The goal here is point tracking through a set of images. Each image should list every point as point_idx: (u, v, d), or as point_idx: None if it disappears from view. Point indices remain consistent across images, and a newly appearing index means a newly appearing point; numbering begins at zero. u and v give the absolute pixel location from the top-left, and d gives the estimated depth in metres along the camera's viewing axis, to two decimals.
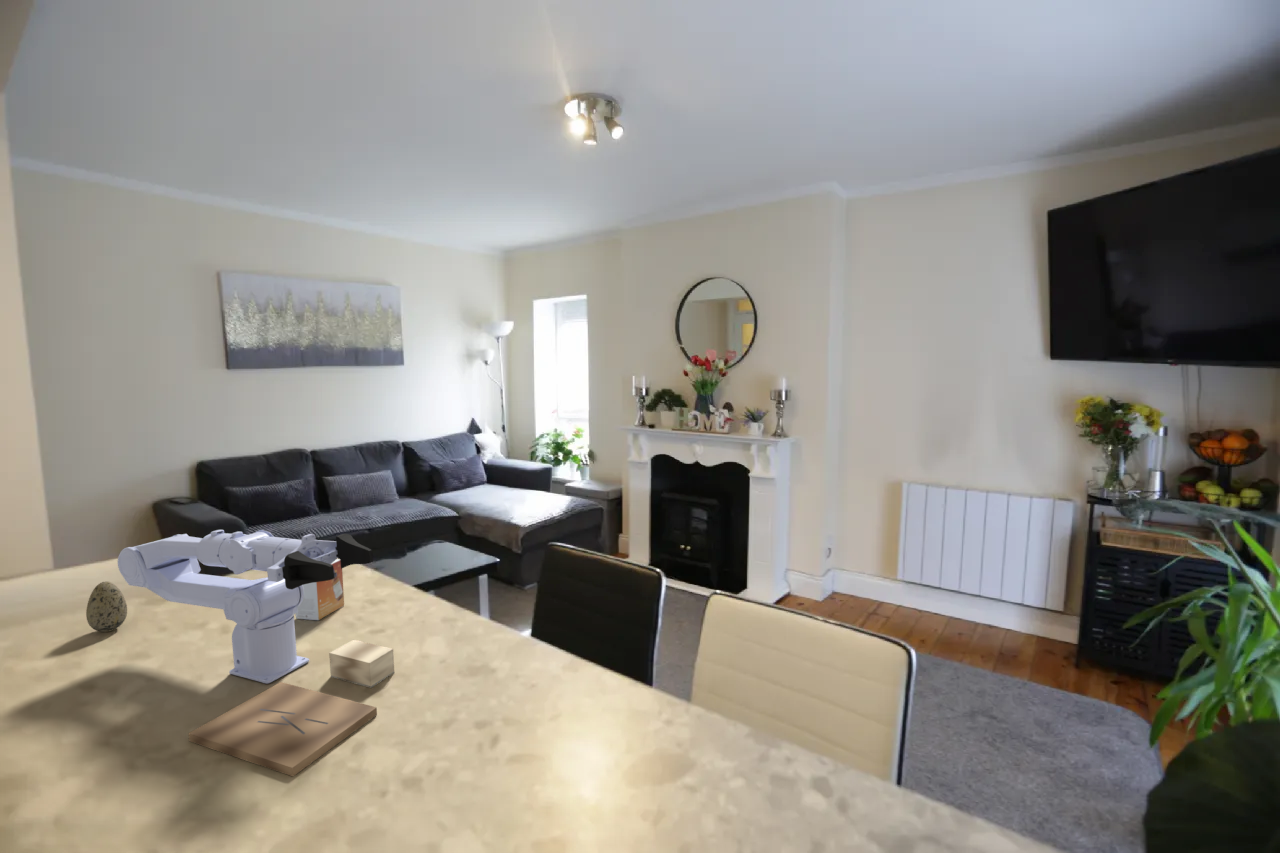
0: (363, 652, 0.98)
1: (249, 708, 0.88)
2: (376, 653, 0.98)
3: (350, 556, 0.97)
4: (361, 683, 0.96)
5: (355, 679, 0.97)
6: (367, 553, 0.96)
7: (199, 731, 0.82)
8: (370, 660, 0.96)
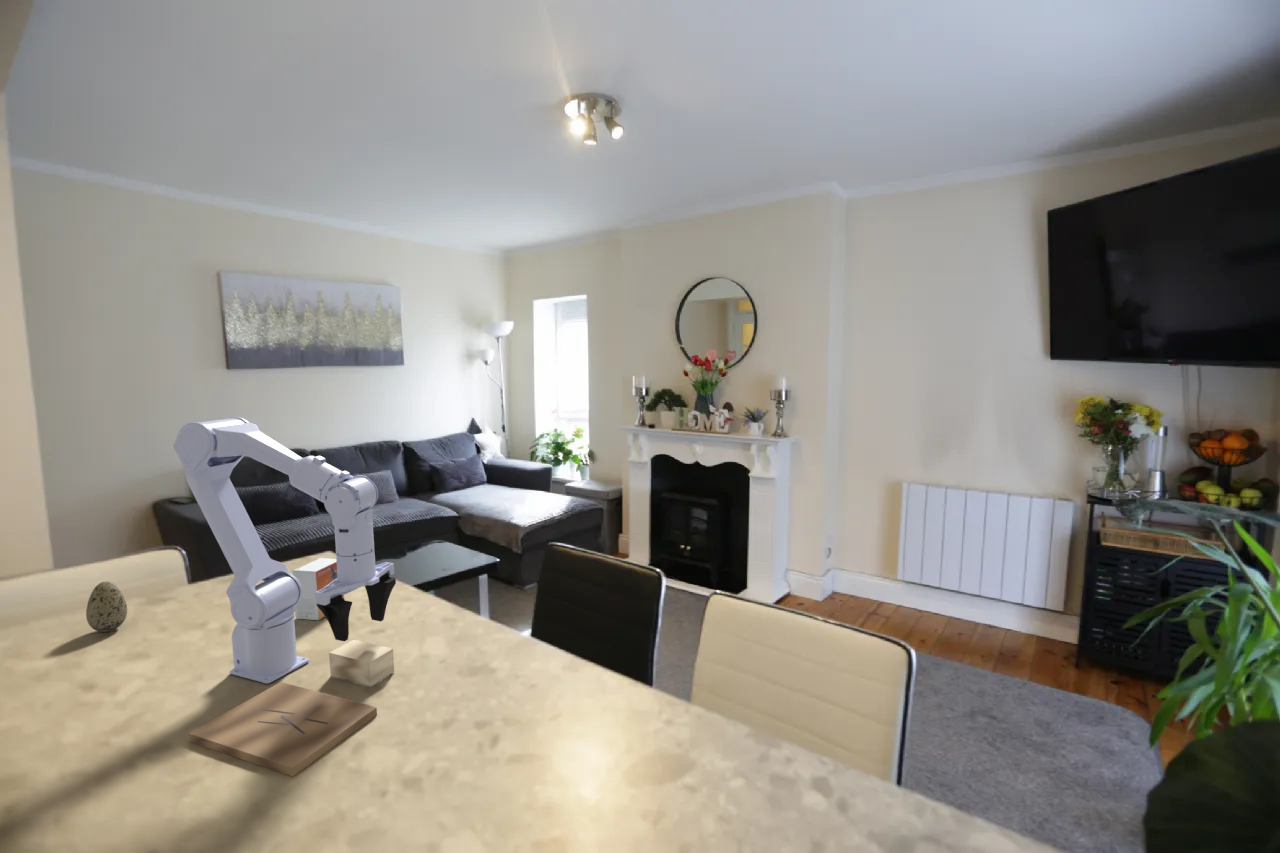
0: (363, 652, 0.98)
1: (249, 708, 0.88)
2: (376, 653, 0.98)
3: (374, 596, 1.02)
4: (361, 683, 0.96)
5: (355, 679, 0.97)
6: (378, 619, 1.02)
7: (199, 731, 0.82)
8: (370, 660, 0.96)
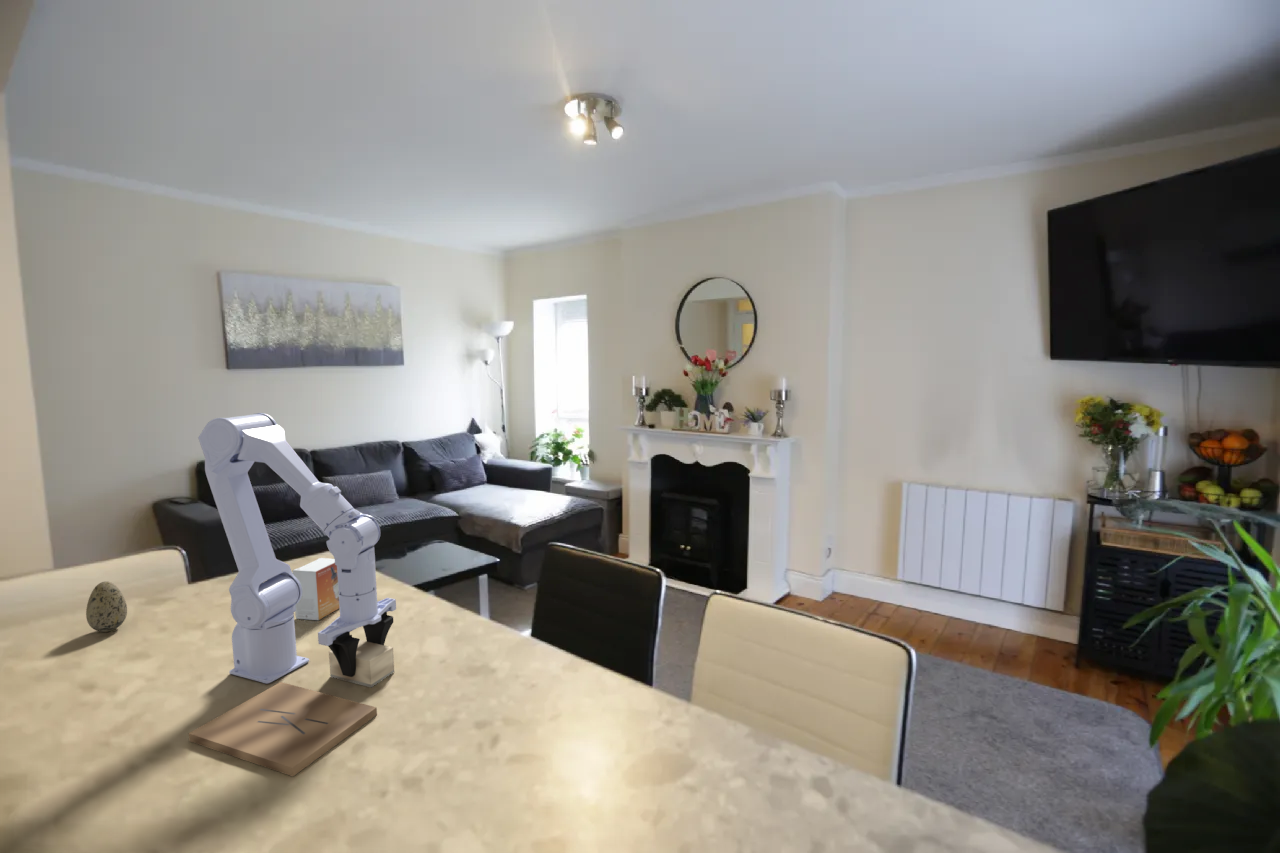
0: (363, 651, 0.98)
1: (249, 708, 0.88)
2: (376, 652, 0.98)
3: (371, 635, 1.02)
4: (361, 682, 0.96)
5: (355, 678, 0.97)
6: None
7: (199, 731, 0.82)
8: (370, 658, 0.96)
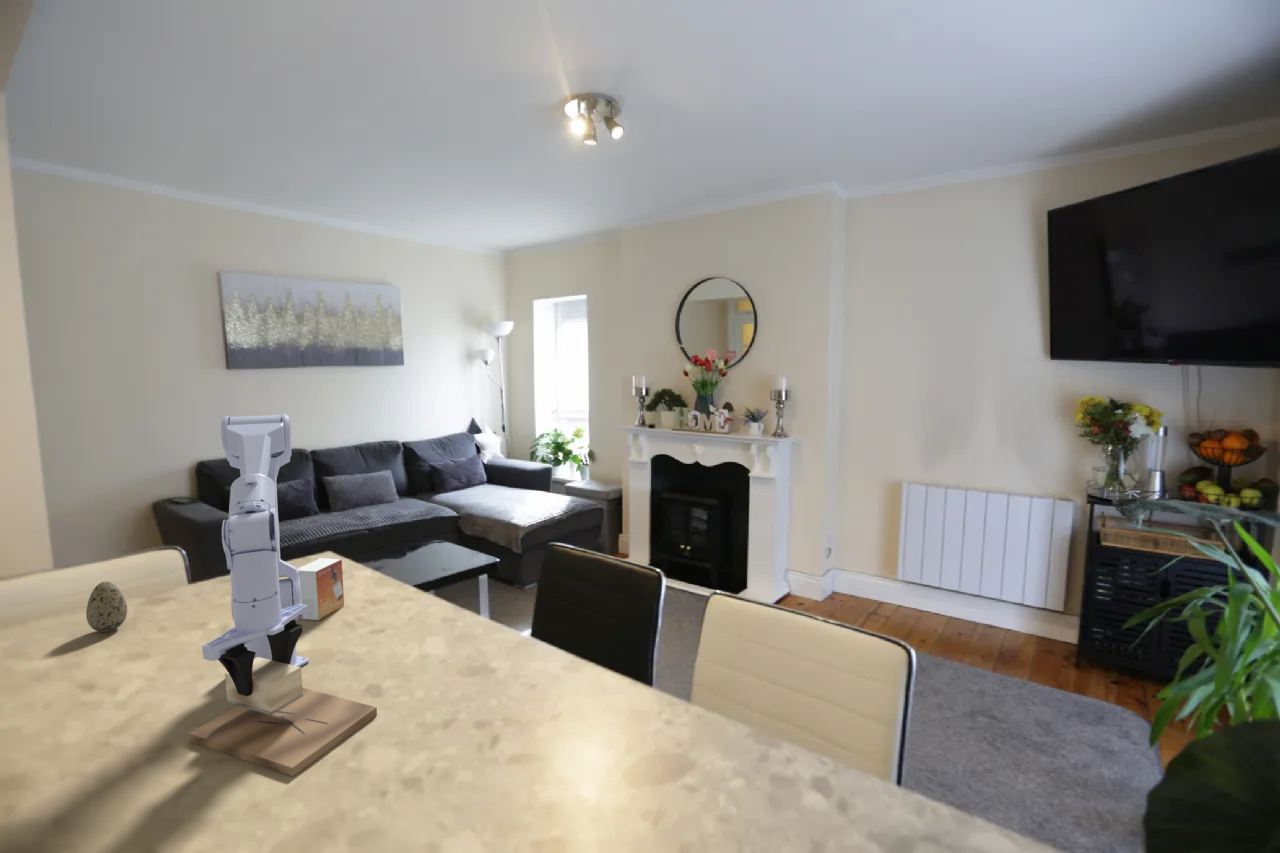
0: (264, 672, 0.85)
1: None
2: (280, 673, 0.85)
3: (276, 647, 0.88)
4: (260, 708, 0.83)
5: (254, 703, 0.83)
6: None
7: (199, 731, 0.82)
8: (271, 681, 0.83)
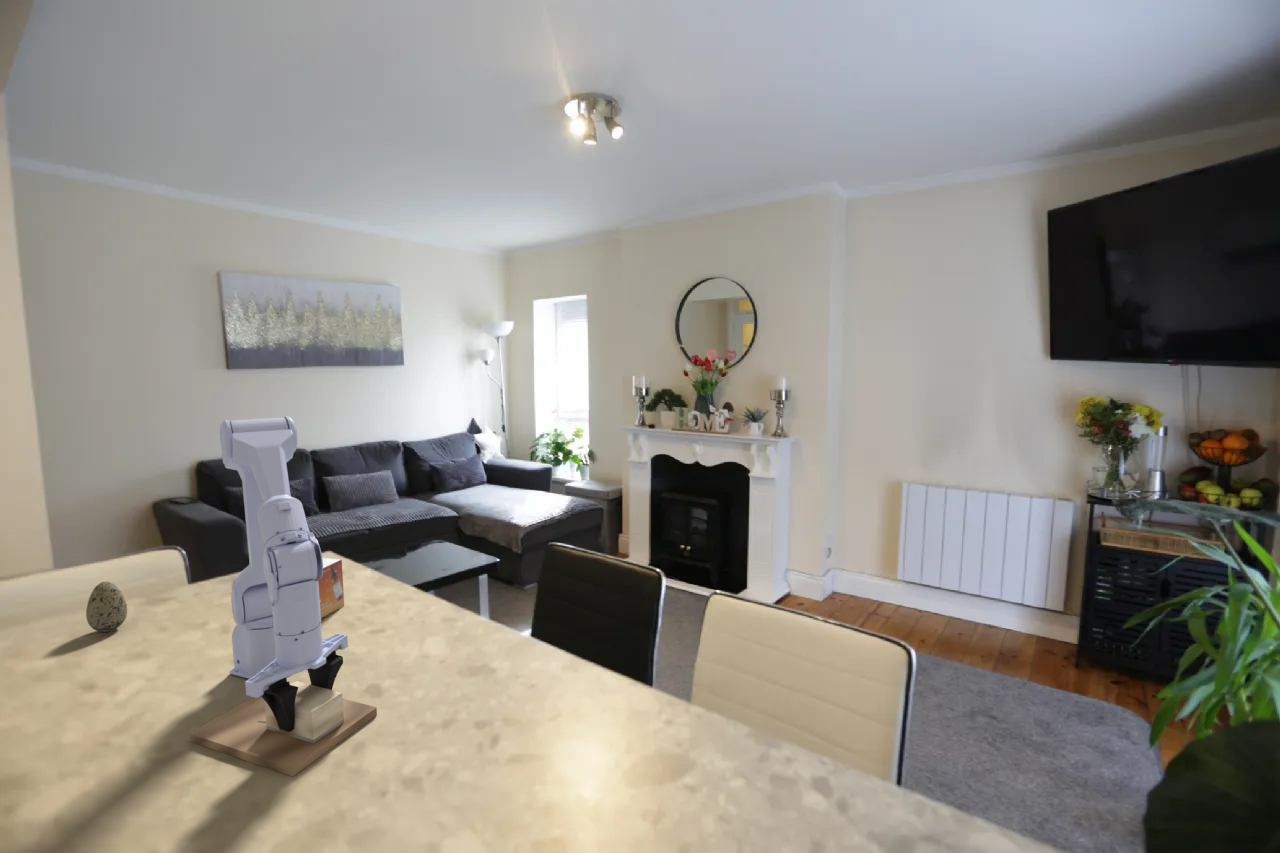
0: (305, 698, 0.83)
1: (249, 708, 0.88)
2: (321, 699, 0.82)
3: (316, 679, 0.86)
4: (302, 736, 0.80)
5: (295, 731, 0.81)
6: None
7: (199, 731, 0.82)
8: (313, 708, 0.80)
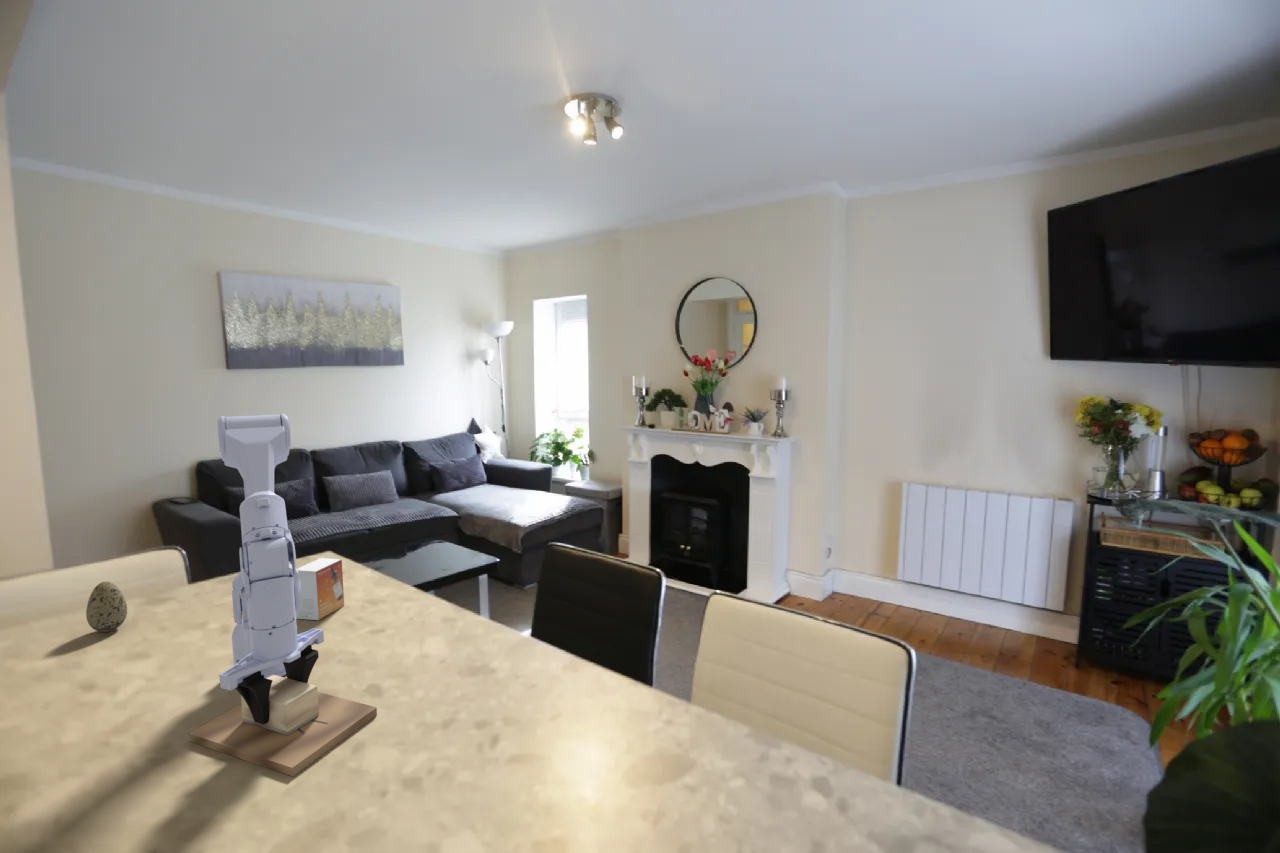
0: (280, 691, 0.84)
1: None
2: (296, 692, 0.84)
3: (292, 672, 0.87)
4: (277, 728, 0.82)
5: (270, 723, 0.83)
6: None
7: (199, 731, 0.82)
8: (287, 701, 0.82)
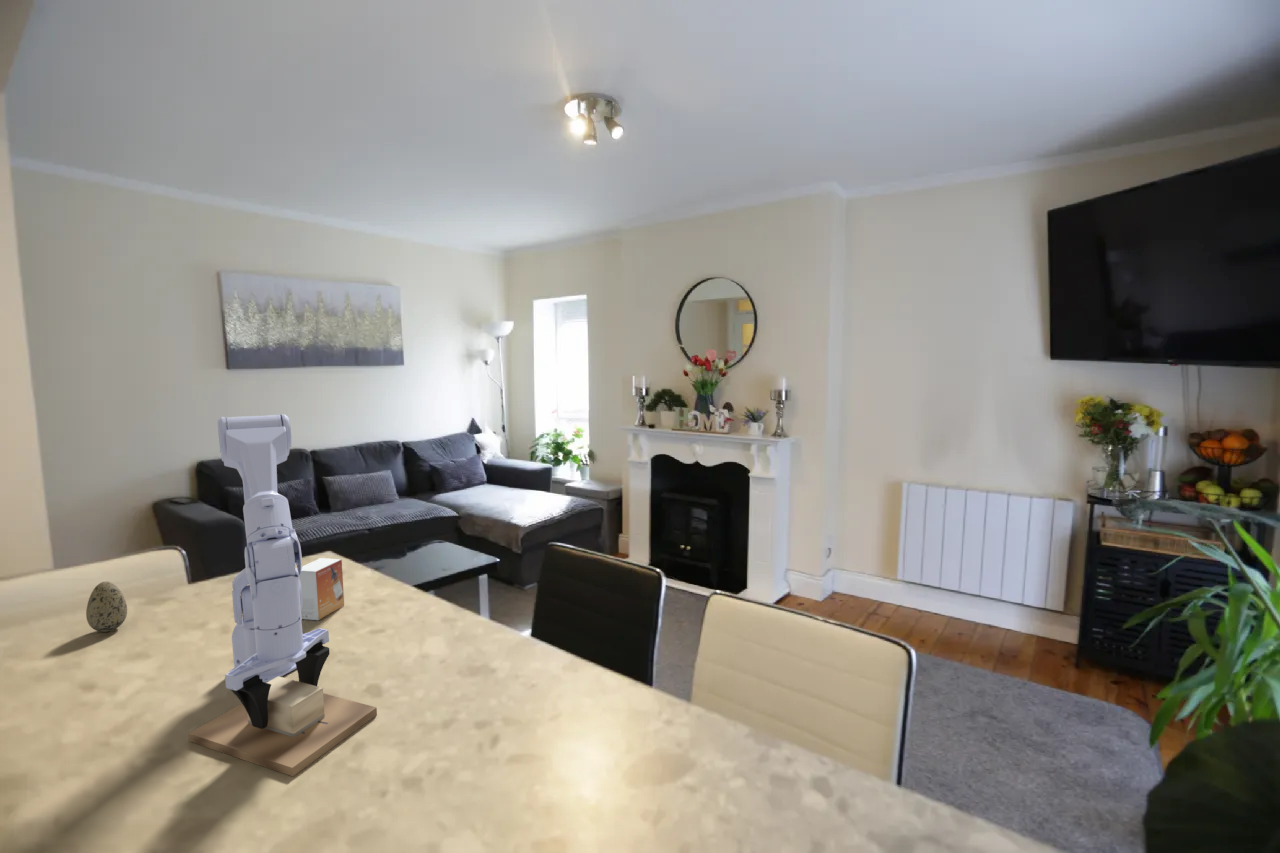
0: (286, 693, 0.84)
1: None
2: (302, 694, 0.84)
3: (303, 669, 0.88)
4: (282, 730, 0.82)
5: (276, 725, 0.82)
6: None
7: (199, 731, 0.82)
8: (293, 703, 0.81)
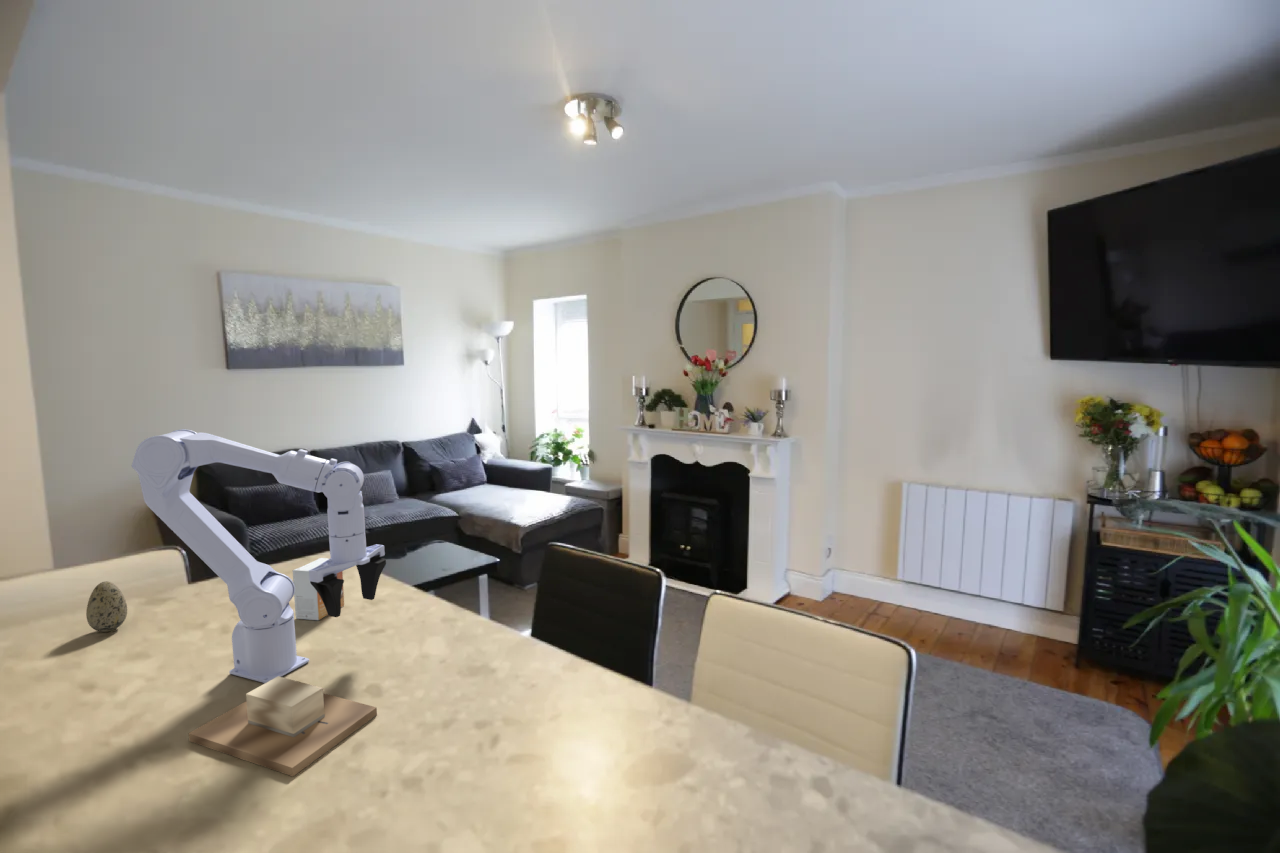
0: (286, 693, 0.84)
1: None
2: (302, 694, 0.84)
3: (365, 576, 1.07)
4: (282, 730, 0.82)
5: (276, 725, 0.82)
6: (369, 597, 1.07)
7: (199, 731, 0.82)
8: (293, 703, 0.81)
